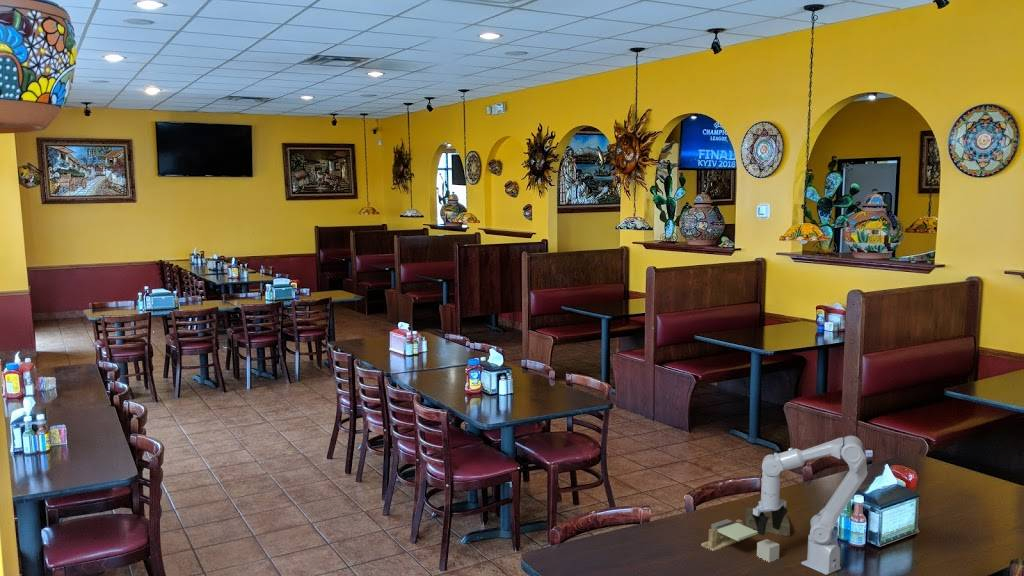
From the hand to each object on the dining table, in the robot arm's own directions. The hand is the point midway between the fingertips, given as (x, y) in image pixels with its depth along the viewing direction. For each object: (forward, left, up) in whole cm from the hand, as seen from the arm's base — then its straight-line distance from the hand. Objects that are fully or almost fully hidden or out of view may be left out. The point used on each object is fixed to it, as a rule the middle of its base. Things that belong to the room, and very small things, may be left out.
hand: (768, 531), depth 262 cm
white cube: (0, 0, -7) cm, 7 cm away
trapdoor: (+11, +4, -3) cm, 12 cm away
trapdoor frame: (+16, +4, -9) cm, 19 cm away
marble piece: (+17, -21, -10) cm, 29 cm away
